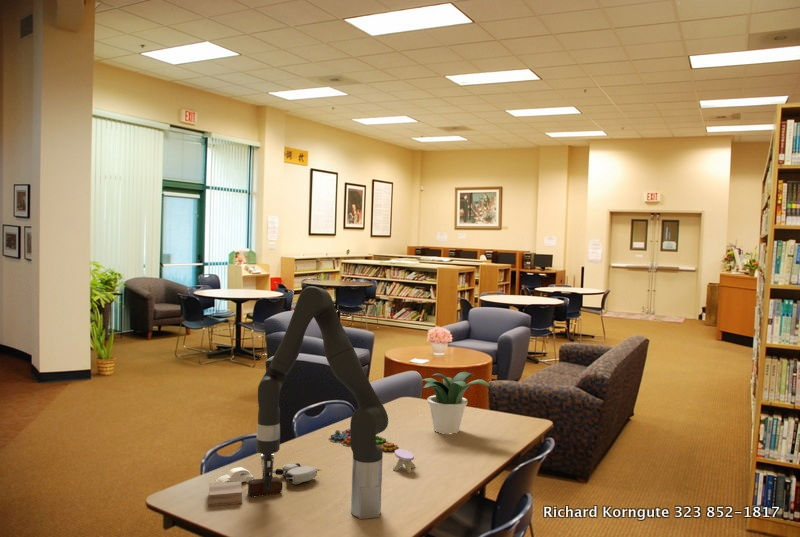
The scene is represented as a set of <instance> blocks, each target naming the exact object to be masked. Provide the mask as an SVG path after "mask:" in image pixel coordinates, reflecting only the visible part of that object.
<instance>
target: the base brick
mask: <svg viewBox="0 0 800 537" xmlns="http://www.w3.org/2000/svg"><path fill="white" fill-rule="evenodd" d="M208 489H209V490H208V500H207V507H216V506H217V507H218V506H226V505H227V506H228V504H230V505H240V504H239V503H242V504H243V490H242V482H241V481H240V482H227V483H216V482H214V483H209V484H208Z"/></svg>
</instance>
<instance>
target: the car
mask: <svg viewBox="0 0 800 537" xmlns="http://www.w3.org/2000/svg"><path fill="white" fill-rule="evenodd" d="M253 479H255V478H254V476H253V474H251V472H250V470H247V469H246V468H244V467H241V466H240V467H234V468H231V469H230V470H228V472H226V474H224V475H221V476H219V477H217V478H216V479H215V483H227V482H240V481H241V483H245V482H246V483H247V482H248V481H249V480H253Z"/></svg>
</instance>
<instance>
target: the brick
mask: <svg viewBox="0 0 800 537" xmlns="http://www.w3.org/2000/svg"><path fill="white" fill-rule="evenodd" d="M283 485H284V484H283V481H282V479H281V478H280V477H278V476H273V478H272V479H271V490H270V491H265V490H264V478H263V477H262V478H256V479H255V478H253V479H252V480H249V481H248V483H247V493H248V496H249V498H255V497H254V496H257V497H263V496H262V495H265V496H269V494H271V495H277V494H276V493H278V494H281V493H282V491H283Z"/></svg>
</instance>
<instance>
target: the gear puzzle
mask: <svg viewBox="0 0 800 537" xmlns="http://www.w3.org/2000/svg"><path fill="white" fill-rule="evenodd" d="M328 441H330V442H331V443H334V444H335V443H337V444H341V445H342V446H344V447H351V442H350V428H347V429H345V430H343V431H342V432H341V431H340V430H339V429H336V430H335V431H334V433H333V434H331V435H330V437H329V438H328ZM376 445H377V446H379V447H381V448H382V451H384V452H392V451H394V452H395V450H397V449H400V448H399V446H398V444H395V443H394V442H389V441H388V440H387V439H386V438H384V437H382V436H379V435H376Z"/></svg>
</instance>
